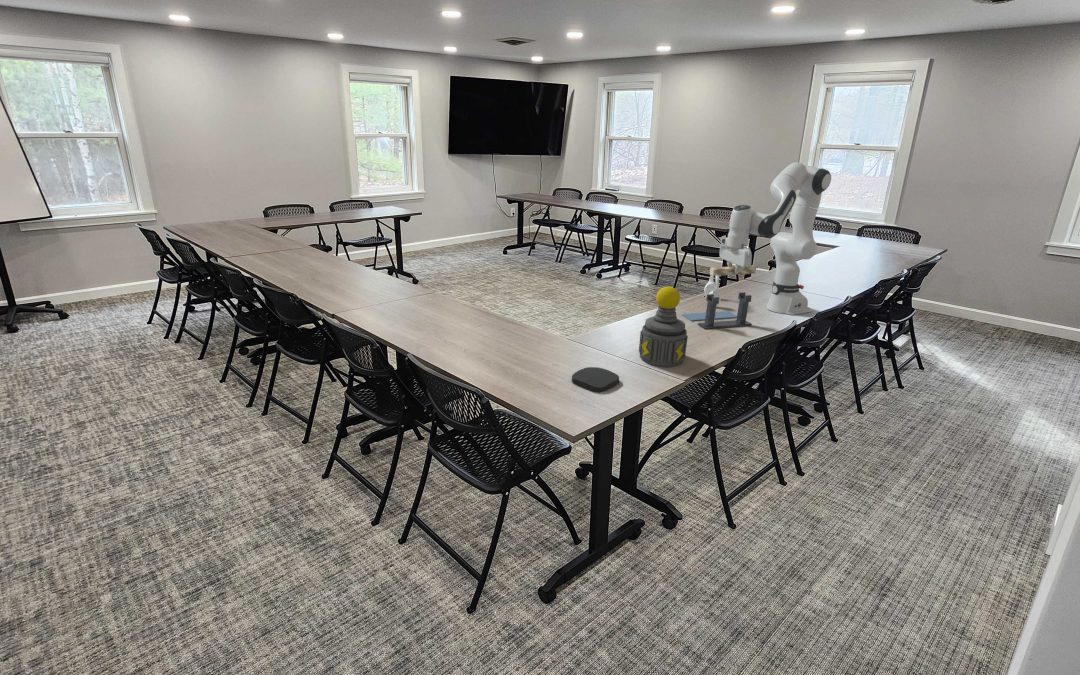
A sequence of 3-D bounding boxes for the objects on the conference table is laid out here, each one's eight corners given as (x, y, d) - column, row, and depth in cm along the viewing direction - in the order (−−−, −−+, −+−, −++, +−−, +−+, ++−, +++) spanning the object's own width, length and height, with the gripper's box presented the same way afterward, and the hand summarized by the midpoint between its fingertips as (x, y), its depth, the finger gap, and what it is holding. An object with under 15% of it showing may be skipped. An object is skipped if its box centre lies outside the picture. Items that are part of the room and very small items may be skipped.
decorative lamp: (695, 361, 226) (704, 289, 215) (660, 371, 216) (669, 296, 206) (661, 346, 241) (669, 278, 230) (628, 354, 231) (634, 284, 220)
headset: (720, 308, 292) (725, 275, 285) (706, 307, 293) (711, 274, 286) (714, 297, 310) (719, 265, 304) (701, 296, 311) (705, 265, 305)
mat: (728, 312, 286) (728, 310, 286) (738, 317, 278) (738, 316, 278) (682, 315, 280) (682, 314, 280) (691, 321, 272) (691, 320, 272)
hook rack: (744, 321, 273) (748, 291, 268) (751, 325, 268) (756, 295, 263) (697, 324, 267) (702, 294, 262) (704, 329, 262) (708, 298, 256)
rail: (751, 271, 263) (752, 265, 261) (755, 273, 260) (756, 267, 259) (709, 274, 257) (710, 267, 256) (713, 275, 254) (713, 269, 253)
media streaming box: (599, 395, 197) (600, 387, 196) (567, 382, 206) (567, 375, 205) (623, 382, 207) (623, 375, 206) (591, 370, 216) (591, 363, 215)
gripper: (757, 247, 245) (752, 278, 250) (730, 237, 263) (726, 266, 268) (744, 247, 243) (740, 278, 248) (718, 238, 261) (715, 267, 266)
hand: (732, 272), depth 258 cm, fingers closed on rail, 3 cm apart
